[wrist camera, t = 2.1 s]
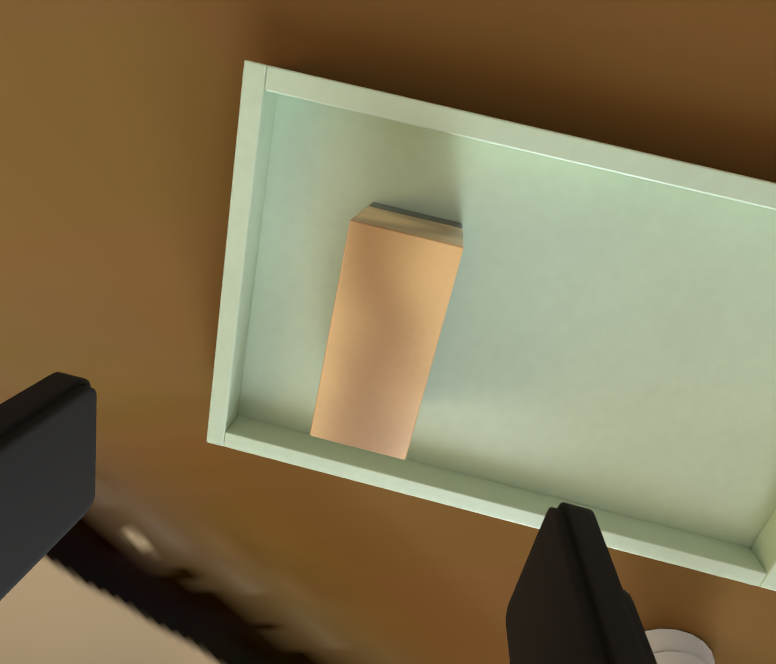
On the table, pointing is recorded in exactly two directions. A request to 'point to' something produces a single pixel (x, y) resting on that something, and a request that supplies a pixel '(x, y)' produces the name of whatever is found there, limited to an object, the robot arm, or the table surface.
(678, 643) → the chalice
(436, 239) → the eraser
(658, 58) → the table surface
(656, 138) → the table surface
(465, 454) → the tray
